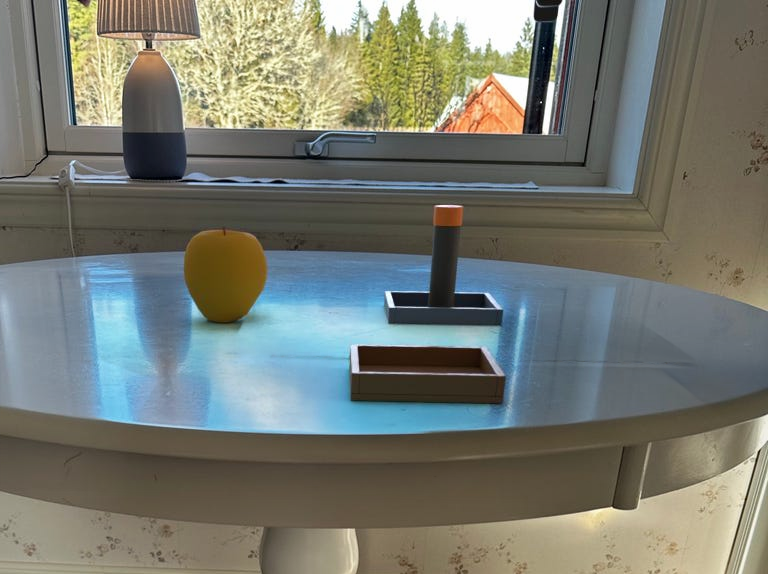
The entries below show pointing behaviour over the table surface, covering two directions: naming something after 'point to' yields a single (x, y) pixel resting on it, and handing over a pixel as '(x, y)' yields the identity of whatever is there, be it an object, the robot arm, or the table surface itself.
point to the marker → (445, 255)
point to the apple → (224, 273)
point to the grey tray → (442, 309)
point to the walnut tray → (425, 374)
